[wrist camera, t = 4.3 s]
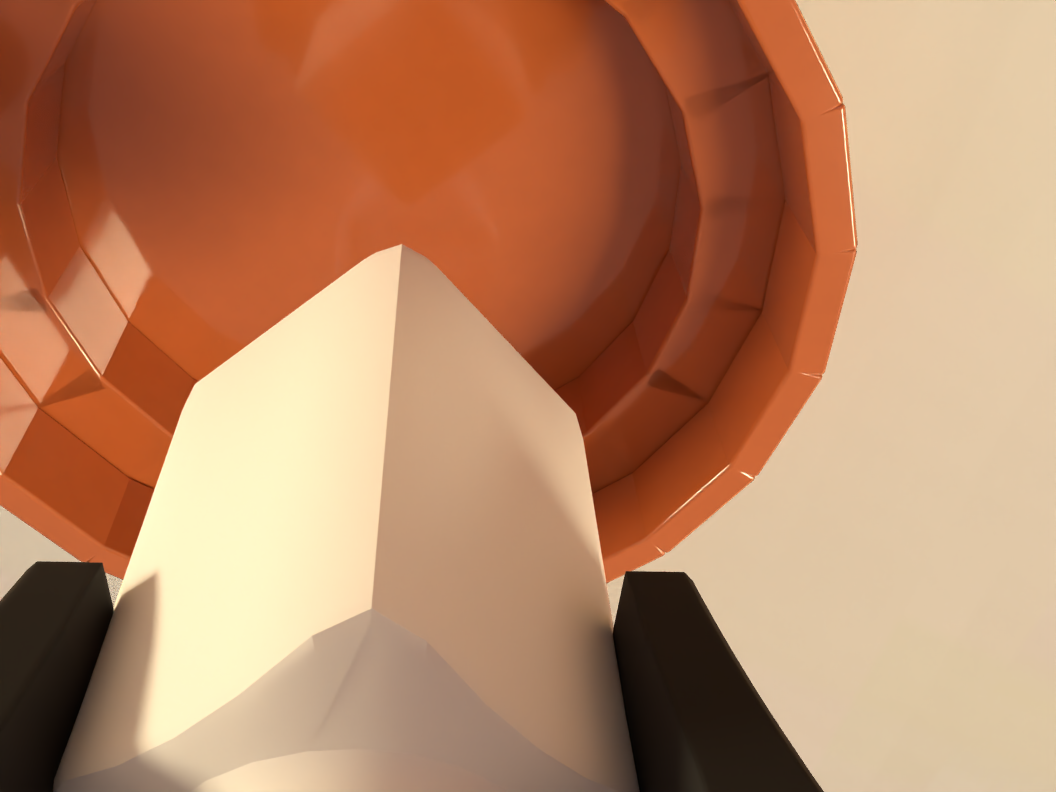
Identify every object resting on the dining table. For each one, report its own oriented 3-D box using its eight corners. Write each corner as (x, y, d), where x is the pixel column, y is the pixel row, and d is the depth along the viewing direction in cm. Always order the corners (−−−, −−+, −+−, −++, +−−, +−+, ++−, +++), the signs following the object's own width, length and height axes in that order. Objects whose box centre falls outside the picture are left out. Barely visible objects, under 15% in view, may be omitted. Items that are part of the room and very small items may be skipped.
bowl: (334, 579, 24) (315, 727, 20) (-251, 98, 16) (-423, 213, 13) (902, 272, 19) (990, 397, 16) (470, -579, 12) (475, -656, 9)
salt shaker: (596, 412, 14) (768, 1347, 6) (379, 545, 15) (304, 1452, 8) (404, 206, 12) (317, 1225, 4) (171, 380, 13) (-212, 1397, 6)
